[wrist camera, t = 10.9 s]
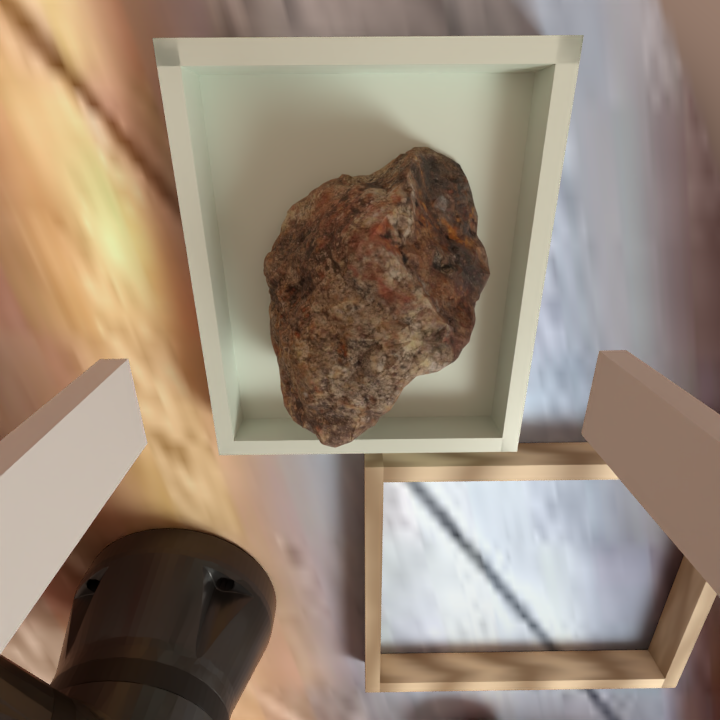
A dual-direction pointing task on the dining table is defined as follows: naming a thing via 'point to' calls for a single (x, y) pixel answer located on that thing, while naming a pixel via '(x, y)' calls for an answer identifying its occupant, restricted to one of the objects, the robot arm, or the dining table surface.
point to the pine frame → (518, 668)
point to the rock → (373, 290)
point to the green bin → (358, 157)
